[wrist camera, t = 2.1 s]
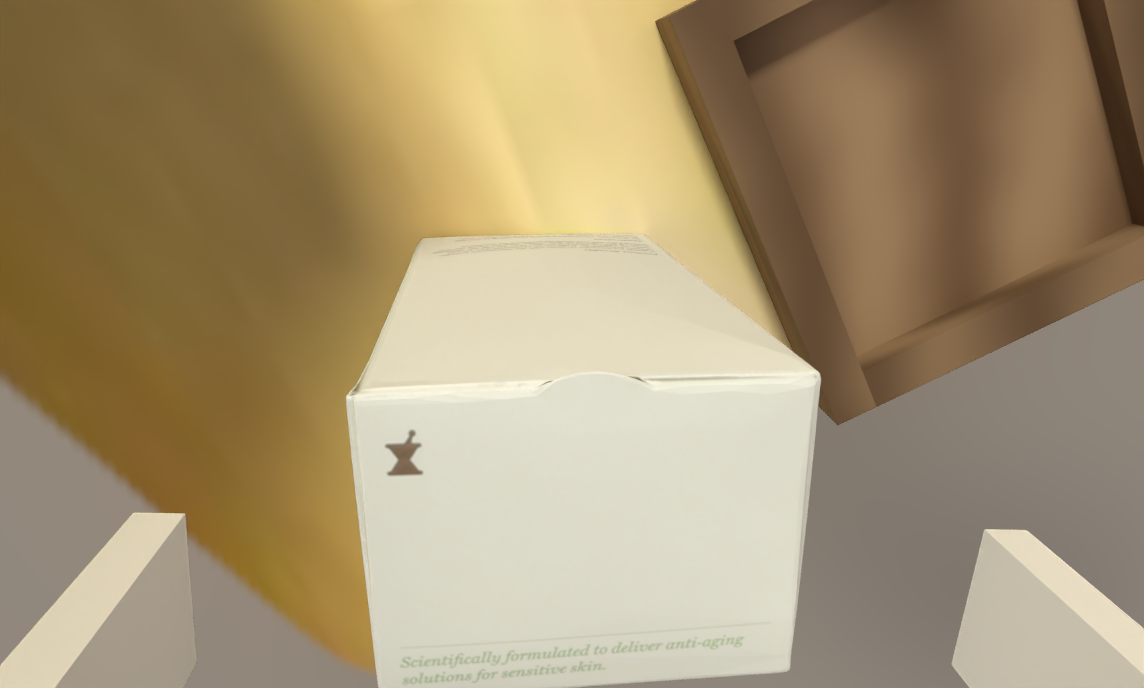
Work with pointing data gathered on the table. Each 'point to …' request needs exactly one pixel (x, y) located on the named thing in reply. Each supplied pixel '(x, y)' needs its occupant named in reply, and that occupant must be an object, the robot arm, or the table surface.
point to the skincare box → (577, 470)
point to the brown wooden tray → (922, 170)
